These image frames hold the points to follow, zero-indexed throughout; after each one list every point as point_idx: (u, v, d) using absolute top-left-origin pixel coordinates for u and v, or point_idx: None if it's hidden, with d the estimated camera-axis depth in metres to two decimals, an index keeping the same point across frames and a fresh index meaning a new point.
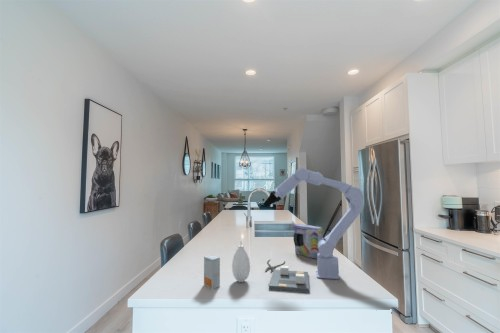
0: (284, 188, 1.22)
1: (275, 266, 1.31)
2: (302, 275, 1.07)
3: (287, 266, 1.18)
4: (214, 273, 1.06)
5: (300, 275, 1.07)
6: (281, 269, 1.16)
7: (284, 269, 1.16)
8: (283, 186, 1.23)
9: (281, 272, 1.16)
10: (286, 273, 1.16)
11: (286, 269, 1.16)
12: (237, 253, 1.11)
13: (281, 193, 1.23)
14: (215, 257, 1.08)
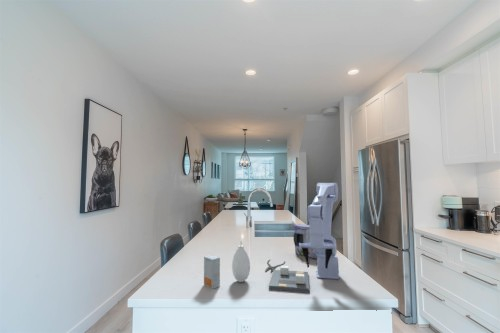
0: (323, 236, 1.06)
1: (275, 266, 1.31)
2: (302, 275, 1.07)
3: (287, 266, 1.18)
4: (214, 273, 1.06)
5: (300, 275, 1.07)
6: (281, 269, 1.16)
7: (284, 269, 1.16)
8: (323, 236, 1.05)
9: (281, 272, 1.16)
10: (286, 273, 1.16)
11: (286, 269, 1.16)
12: (237, 253, 1.11)
13: None
14: (215, 257, 1.08)
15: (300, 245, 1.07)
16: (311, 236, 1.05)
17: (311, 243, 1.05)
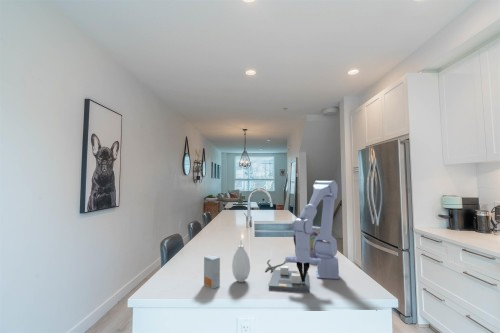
0: (309, 250, 1.07)
1: (275, 266, 1.31)
2: (298, 275, 1.07)
3: (287, 266, 1.18)
4: (214, 273, 1.06)
5: (296, 275, 1.07)
6: (281, 269, 1.16)
7: (284, 269, 1.16)
8: (309, 250, 1.06)
9: (281, 272, 1.16)
10: (286, 273, 1.16)
11: (286, 269, 1.16)
12: (237, 253, 1.11)
13: None
14: (215, 257, 1.08)
15: (286, 259, 1.07)
16: (297, 250, 1.06)
17: (297, 257, 1.06)
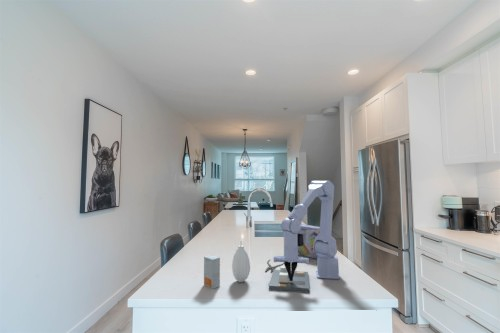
0: (297, 250, 1.08)
1: (275, 266, 1.31)
2: (286, 274, 1.08)
3: None
4: (214, 273, 1.06)
5: (284, 274, 1.08)
6: (281, 269, 1.16)
7: (284, 269, 1.16)
8: (297, 250, 1.07)
9: None
10: None
11: None
12: (237, 253, 1.11)
13: None
14: (215, 257, 1.08)
15: (274, 258, 1.08)
16: (285, 250, 1.07)
17: (285, 256, 1.07)
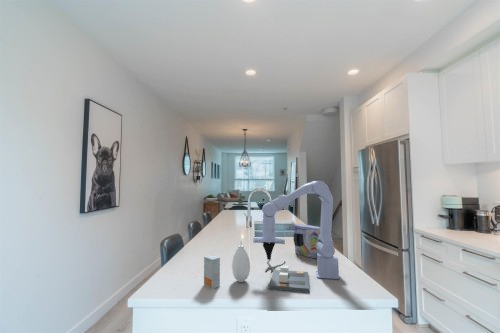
0: None
1: (275, 266, 1.31)
2: (285, 274, 1.08)
3: (287, 266, 1.18)
4: (214, 273, 1.06)
5: (284, 274, 1.08)
6: (281, 269, 1.16)
7: (284, 269, 1.16)
8: (274, 232, 1.18)
9: None
10: None
11: (286, 269, 1.16)
12: (237, 253, 1.11)
13: None
14: (215, 257, 1.08)
15: (254, 239, 1.20)
16: (263, 231, 1.18)
17: (263, 237, 1.18)
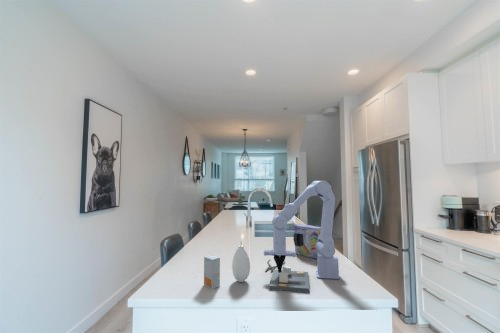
0: (285, 244, 1.18)
1: (275, 266, 1.31)
2: (285, 274, 1.08)
3: (289, 266, 1.18)
4: (214, 273, 1.06)
5: (284, 274, 1.08)
6: (283, 269, 1.16)
7: (286, 269, 1.16)
8: (285, 244, 1.17)
9: (283, 272, 1.16)
10: (288, 273, 1.15)
11: (288, 269, 1.15)
12: (237, 253, 1.11)
13: None
14: (215, 257, 1.08)
15: (265, 252, 1.18)
16: (274, 244, 1.17)
17: (274, 250, 1.17)
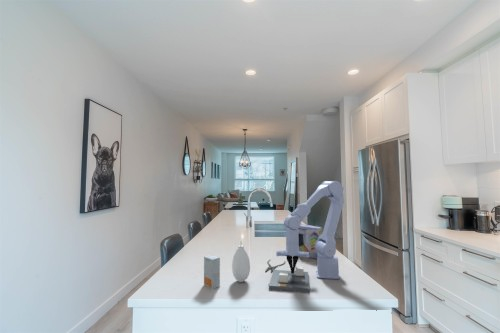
0: (298, 245, 1.17)
1: (275, 266, 1.31)
2: (285, 274, 1.08)
3: (302, 267, 1.16)
4: (214, 273, 1.06)
5: (284, 274, 1.08)
6: (296, 270, 1.15)
7: (299, 270, 1.14)
8: (298, 245, 1.16)
9: (296, 273, 1.15)
10: (301, 274, 1.14)
11: (301, 270, 1.14)
12: (237, 253, 1.11)
13: None
14: (215, 257, 1.08)
15: (277, 252, 1.17)
16: (287, 244, 1.16)
17: (287, 251, 1.16)
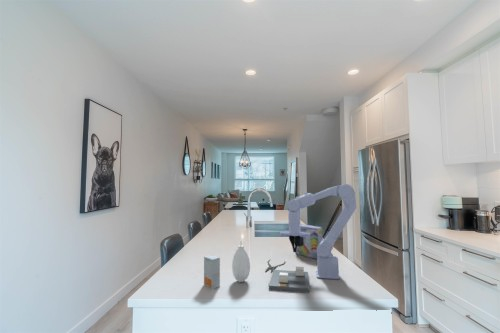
0: None
1: (275, 266, 1.31)
2: (285, 274, 1.08)
3: (302, 267, 1.16)
4: (214, 273, 1.06)
5: (284, 274, 1.08)
6: (296, 270, 1.15)
7: (299, 270, 1.14)
8: (299, 226, 1.25)
9: (296, 273, 1.15)
10: (301, 274, 1.14)
11: (301, 270, 1.14)
12: (237, 253, 1.11)
13: None
14: (215, 257, 1.08)
15: (280, 233, 1.26)
16: (289, 225, 1.25)
17: (289, 231, 1.25)
